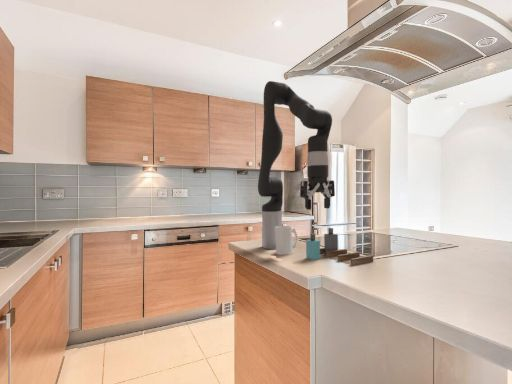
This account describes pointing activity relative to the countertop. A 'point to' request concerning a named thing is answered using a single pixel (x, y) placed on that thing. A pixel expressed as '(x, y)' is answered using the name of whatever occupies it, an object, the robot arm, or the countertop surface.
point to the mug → (285, 240)
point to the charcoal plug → (330, 241)
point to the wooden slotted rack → (346, 256)
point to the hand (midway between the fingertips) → (317, 208)
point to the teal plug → (312, 248)
